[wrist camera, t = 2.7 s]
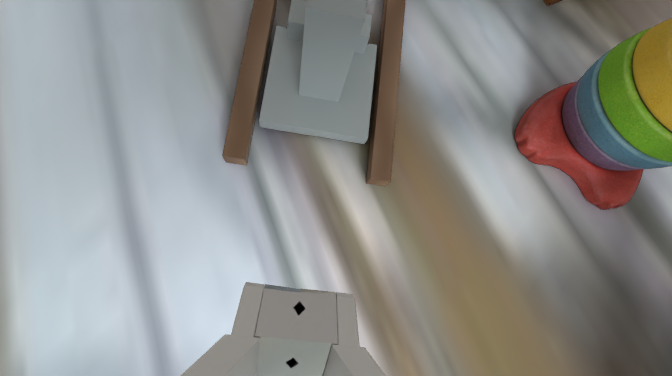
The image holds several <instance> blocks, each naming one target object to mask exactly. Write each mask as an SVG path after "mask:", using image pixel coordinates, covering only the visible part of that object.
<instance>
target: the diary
mask: <svg viewBox="0 0 672 376" xmlns="http://www.w3.org/2000/svg"><path fill="white" fill-rule="evenodd" d="M560 1H562V0H544V2H545V4H546V5H547V6H548V5H551V4H554V3H557V2H560Z"/></svg>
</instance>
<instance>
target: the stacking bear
mask: <svg viewBox="0 0 672 376" xmlns="http://www.w3.org/2000/svg"><path fill="white" fill-rule="evenodd" d="M515 140H516V142H517V144H518V149H519V151H520V152H521V153H522V154H523V155H525V156H526V157H527V159H528V160H530V161H531V162H533V163H535V164H541V165H549V166H553V167H556V168H558V169H560V170H562V171H564V172H565V173H566V174H568V175H569V176H570V177H571V178H572V179H573V180H574V181H575V182H576V184H577V185H578V187H579V188H580V190H581V192H582V194H583V195H584V197H585V198H586V199H587V200H588V201H589V202H590V203H592V204H595V205H596V206H597V207H599V208H600V209H603V210H604V209H610V208H617V207H620V206H623V205H625V204H626V203H627V202H628V201H629V200H630V199H631V198H632V196H633V195H634V193H635V191H636V189H637V187H638V185H639V182H640V179H641V176H642V173H643V169H652V168H661V167H667V166H672V18H671V19H669V20H667V21H664V22H662V23H660V24H658V25H656V26H655V27H653V28H649V29H647V30H644V31H642V32H640V33H638V34H636V35H634V36H632V37H630V38H628V39H627V40H625V41H623V42H622V43H620V44H618V45H617V46H616V47H614V48H613V49H612V50H610V51H608V52H607V53H606V54H604V55H603V56H602V57H601V58H600V59H599V60H597V61H596V62H595V63H594V64H593V65H592V66H591V67H590V68H589V69H588V70H587V71H586V73H585V74H584V75H583V76H582V77H581V78H580V79H579V80H578V81H577V82H574V83H570V84H566V85H563V86H561V87H558V88H556V89H554V90H552V91H550V92H548V93H546V94H545V95H543V96H542V97H540V98H539V99H538V100H536V101H535V102H534V103H533V104H532V105H531V106H530V107H529V108H528V110H527V111H526V112H525V113H524V115H523V116H522V118H521V120H520V122H519V124H518V126H517V128H516V132H515Z"/></svg>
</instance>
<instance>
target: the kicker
mask: <svg viewBox="0 0 672 376" xmlns="http://www.w3.org/2000/svg"><path fill="white" fill-rule="evenodd" d="M366 5H367V0H307V1H305V0H291V5H290V11H289V17H288V28H287V27H282V26H277V25H276V31H275V36H274V42H273V47H272V52H271V58H270V63H269V69H268V74H267V80H266V85H265V91H264V96H263V101H262V107H261V112H260V118H259V123H260V127H262V128H268V129H275V130H281V131H287V132H293V133H299V134H305V135H311V136H318V137H324V138H330V139H336V140H342V141H348V142H354V143H361V144H365V142H366V141H367V139H368V132H369V122H370V112H371V102H372V92H373V82H374V72H375V62H376V52H377V45H374V44H369V43H368V41H369V38H370V30H371V20H372V14H368V13H366Z"/></svg>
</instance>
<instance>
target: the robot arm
mask: <svg viewBox="0 0 672 376" xmlns="http://www.w3.org/2000/svg"><path fill="white" fill-rule="evenodd" d="M181 376H386V375H385V374H384V373H383V371H382V370H381V369H380V367H379V366H378V365H377V363H376V362H375V360H374V359H373V358H372V356H371V355H370V354H369V352H368V351H367V350H366V348H364V347H360V346H359V336H358V325H357V314H356V304H355V297H354V295H353V294H346V293H335V292H328V291H318V290H308V289H295V288H288V287H281V286H273V285H266V284H265V285H264V284H257V283H249V282H246V283H245V285H244V288H243V292H242V295H241V299H240V303H239V307H238V310H237V314H236V318H235V322H234V326H233V329H232V333H231V335H226V334H225V335H224V336H223V337H222V338H221V339H220V340H219V341H218V342H217V343H215V344H214V345H213V346H212V347H211V348H210V349H209V350H208V351H207V352H206V353H205V354H204V355H202V356H201V357H200V358H199V359H198V360H197V361H196V362H195V363H194V364H193V365H192V366H191V367H189V368H188V369H187V370H186V371H185V372H184V373H183V374H182V375H181Z"/></svg>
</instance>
